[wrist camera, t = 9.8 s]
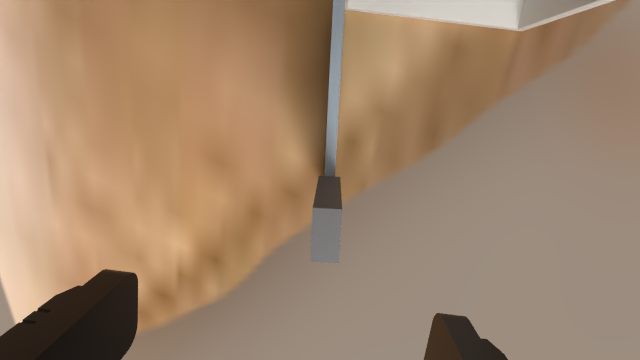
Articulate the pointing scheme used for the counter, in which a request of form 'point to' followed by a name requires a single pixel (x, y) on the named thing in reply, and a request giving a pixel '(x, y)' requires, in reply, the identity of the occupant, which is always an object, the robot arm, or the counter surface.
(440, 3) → the carton
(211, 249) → the counter surface
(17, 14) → the counter surface
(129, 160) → the counter surface
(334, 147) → the front flap
